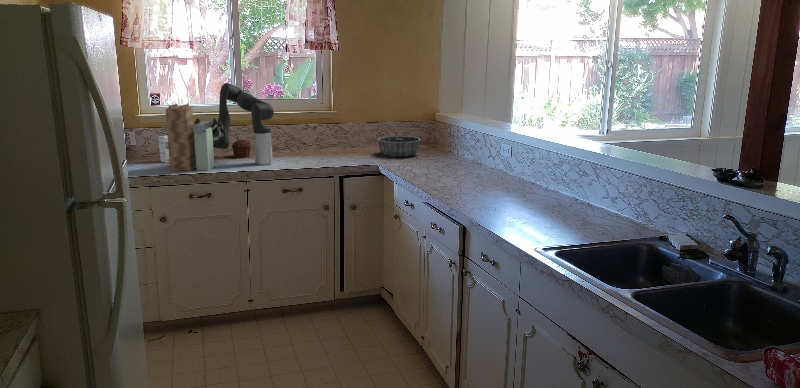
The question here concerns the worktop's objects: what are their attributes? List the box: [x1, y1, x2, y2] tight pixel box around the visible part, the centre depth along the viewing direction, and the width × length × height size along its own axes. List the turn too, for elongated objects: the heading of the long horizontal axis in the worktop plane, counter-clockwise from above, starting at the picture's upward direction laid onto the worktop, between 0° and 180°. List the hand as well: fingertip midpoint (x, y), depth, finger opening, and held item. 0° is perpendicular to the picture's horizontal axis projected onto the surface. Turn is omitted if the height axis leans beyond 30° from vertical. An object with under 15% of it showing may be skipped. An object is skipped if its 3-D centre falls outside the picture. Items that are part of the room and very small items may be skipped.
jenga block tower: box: [165, 103, 197, 172], centre depth 314 cm, size 10×12×34 cm
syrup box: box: [157, 134, 170, 163], centre depth 337 cm, size 6×6×14 cm
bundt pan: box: [376, 135, 422, 158], centre depth 368 cm, size 26×26×10 cm
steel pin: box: [193, 120, 213, 133], centre depth 316 cm, size 4×20×4 cm, turn 3°
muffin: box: [231, 138, 252, 159], centre depth 355 cm, size 12×11×10 cm
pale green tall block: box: [194, 127, 215, 171], centre depth 318 cm, size 6×12×21 cm, turn 3°
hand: (205, 119), depth 321 cm, fingers open, 8 cm apart
